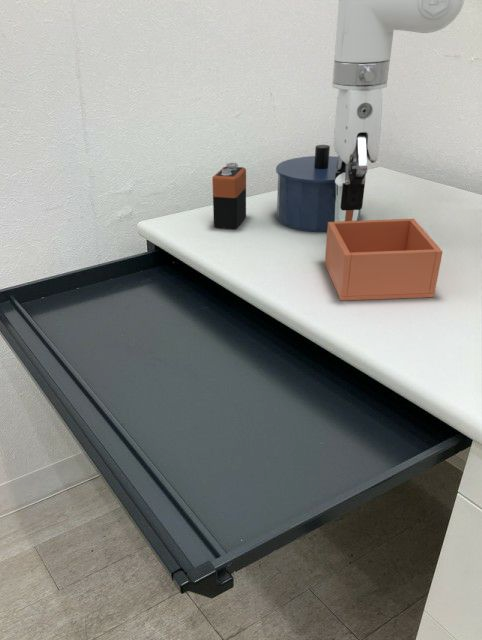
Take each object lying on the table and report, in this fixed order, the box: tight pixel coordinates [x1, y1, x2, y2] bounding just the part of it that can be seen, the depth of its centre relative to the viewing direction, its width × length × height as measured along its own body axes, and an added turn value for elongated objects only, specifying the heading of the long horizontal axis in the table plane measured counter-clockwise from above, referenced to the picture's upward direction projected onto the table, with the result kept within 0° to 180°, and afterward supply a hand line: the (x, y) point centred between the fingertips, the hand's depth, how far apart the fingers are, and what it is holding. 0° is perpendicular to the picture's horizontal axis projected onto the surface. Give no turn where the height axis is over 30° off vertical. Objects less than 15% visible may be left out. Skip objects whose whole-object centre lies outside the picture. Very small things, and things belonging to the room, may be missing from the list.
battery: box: [212, 162, 247, 230], centre depth 105 cm, size 4×7×10 cm, turn 161°
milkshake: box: [335, 173, 359, 222], centre depth 93 cm, size 4×5×10 cm
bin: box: [324, 218, 444, 301], centre depth 84 cm, size 13×13×7 cm
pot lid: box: [275, 144, 368, 183], centre depth 103 cm, size 16×16×5 cm
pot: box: [276, 174, 361, 233], centre depth 106 cm, size 15×15×8 cm
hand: (347, 202), depth 93 cm, fingers closed on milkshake, 4 cm apart
